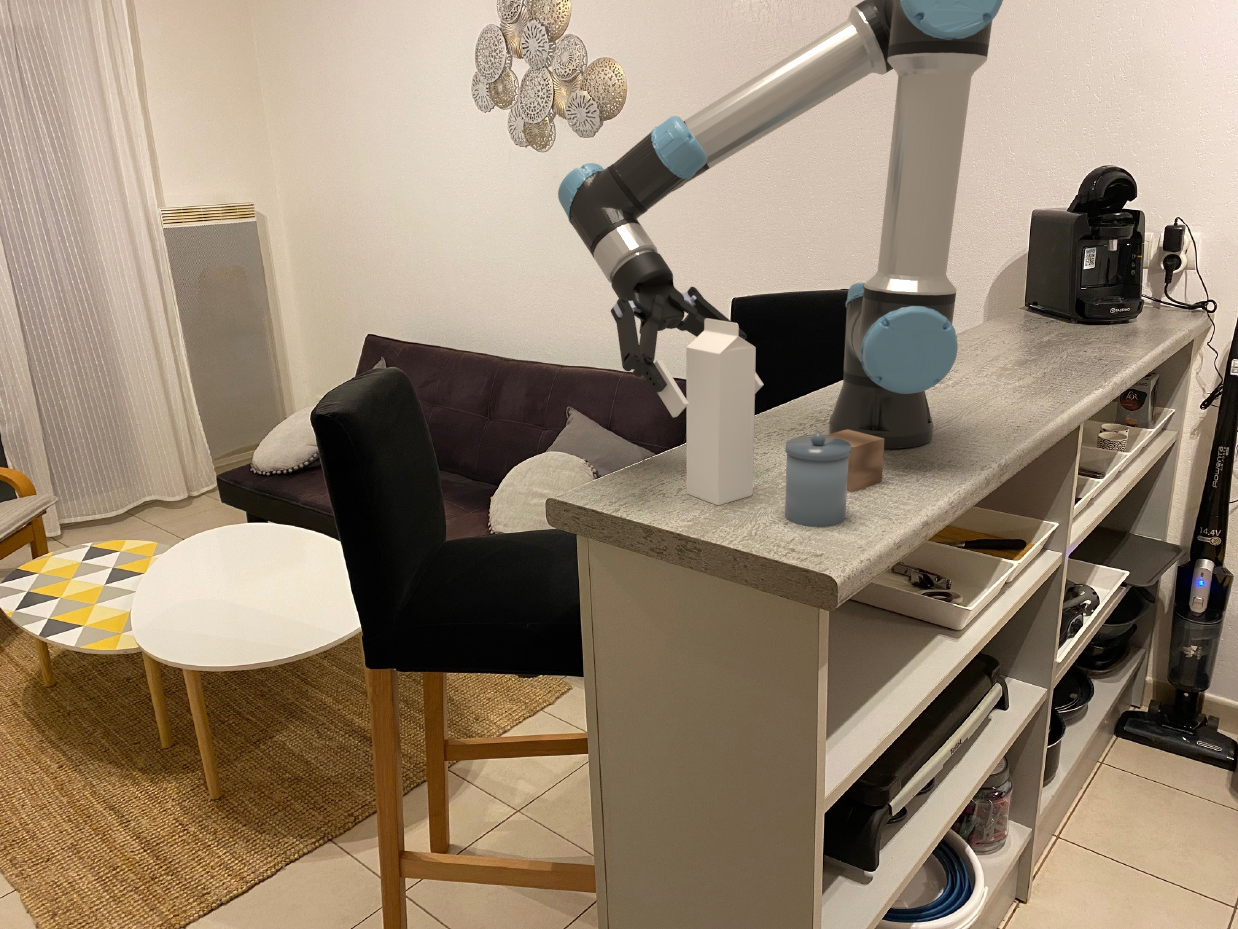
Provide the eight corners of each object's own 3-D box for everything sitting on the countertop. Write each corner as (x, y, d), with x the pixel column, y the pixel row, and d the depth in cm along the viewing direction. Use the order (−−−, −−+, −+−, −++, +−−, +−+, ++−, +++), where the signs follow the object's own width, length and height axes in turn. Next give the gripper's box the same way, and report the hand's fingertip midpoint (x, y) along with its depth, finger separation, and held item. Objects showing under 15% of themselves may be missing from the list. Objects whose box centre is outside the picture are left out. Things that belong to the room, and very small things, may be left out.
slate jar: (823, 502, 117) (827, 421, 114) (860, 521, 110) (864, 436, 107) (771, 511, 114) (773, 429, 111) (805, 531, 108) (808, 445, 105)
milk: (718, 506, 116) (719, 326, 110) (685, 494, 121) (684, 320, 114) (753, 495, 120) (757, 320, 113) (721, 483, 124) (722, 314, 118)
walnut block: (845, 472, 128) (847, 429, 126) (881, 482, 124) (884, 438, 122) (815, 481, 125) (816, 437, 123) (851, 492, 120) (853, 447, 118)
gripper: (687, 279, 134) (767, 400, 128) (546, 297, 118) (630, 437, 112) (715, 242, 128) (801, 366, 122) (572, 256, 113) (662, 400, 106)
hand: (719, 400), depth 117 cm, fingers open, 13 cm apart
